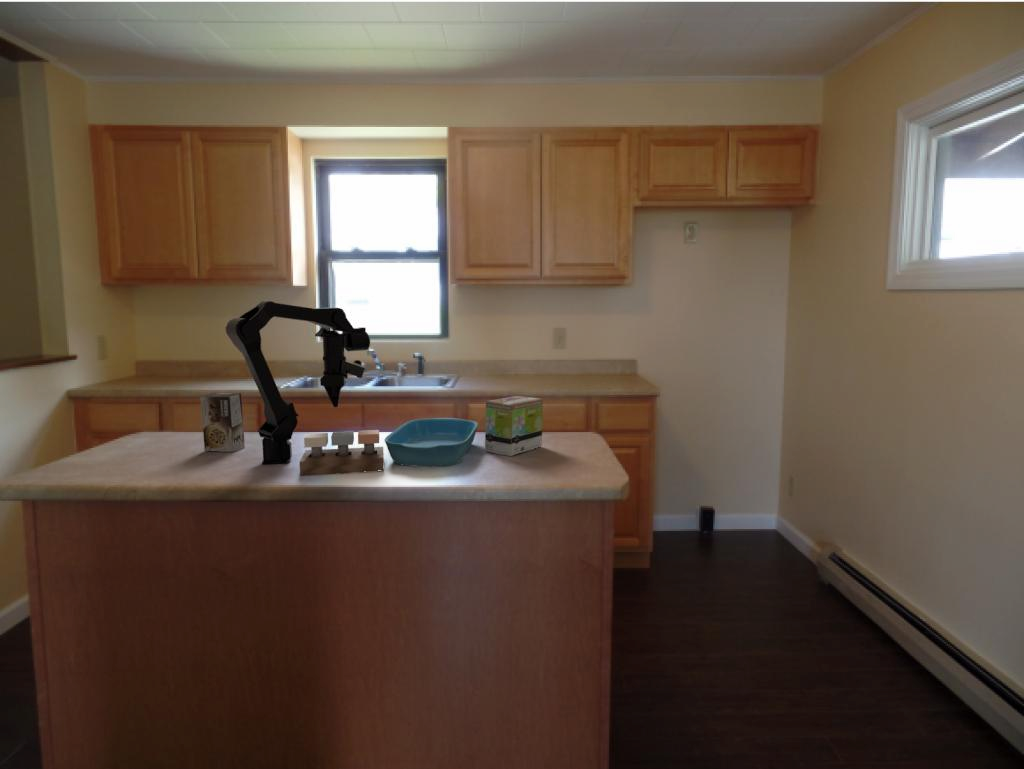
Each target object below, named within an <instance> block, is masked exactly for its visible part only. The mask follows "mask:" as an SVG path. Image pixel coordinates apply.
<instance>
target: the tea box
mask: <svg viewBox="0 0 1024 769" xmlns="http://www.w3.org/2000/svg"><path fill="white" fill-rule="evenodd" d="M543 409H544V399H543V398H538V397H529V396H523V395H515V396H509V397H503V398H497V399H492V400H491V399H490V400H486V401H485V428H484V429H485V430H484V433H485V434H484V435H485V436H484V438H485V439H484V450H485V452H488V453H492V454H497V455H502V456H506V455H507V456H508V457H512V456H515V455H518V454H520V453H524V452H528V451H532V450H535V448H536V449H539V448H538V447H540V448H542V447H541V446H543V445H542V444H543V421H544V420H543V416H544V415H543V412H544V411H543ZM507 456H506V457H507Z"/></svg>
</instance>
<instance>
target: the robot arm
mask: <svg viewBox="0 0 1024 769" xmlns="http://www.w3.org/2000/svg"><path fill="white" fill-rule="evenodd" d="M272 318H280V319H287V320H294V321H295V320H296V321H303V322H308V323H311V324H314V325H316V326H319V327H320V329H318V331H317V332H316V333H314V337H315V338H316V337H318V338H319V337H320V338H322V352H323V356H322V361H323V370H322V372H323V373H322V374H323V376H321V377H320V379H319V382H320V383H319V384H320V387H323V388H324V389H325V391H326V393H327V396H328V399H329V400H330V402H331V404H332V406H333V408H338V407H339V403H340V396H341V391H342V388H344V387H345V386H346V383H347V380H346V379H348V378H349V375H353V376H354V377H357V378H359V379H362V378H363V375H364V373H365V369H366V366H364V365H362V360H359V359H356V360H354V361H349V360H347V356H346V354H345V351H347V352H361V351H368V350H369V348H370V345H371V338H370V336H369V334H368V332H367V331H366V327H363V326H359V327H353V325H352V324H351V322H350V321H349V320H348V318H347V315H346V312H345V311H344V310H343V308H339V307H315V308H314V307H313V308H312V307H306V306H301V305H300V306H298V305H293V304H286V303H278V302H274V301H272V300H270V301H269V300H267V301H261V302H259V303H258V304H257V305H256V306H254V307H252V308H251V309H250V310H248V311H246V312H245V313H243V314H241V315H240V316H239V317H235V318H232V319H230V320H229V321H228V322H227V324H226V326H225V332H226V334H227V337H228V338H229V339H230V341H231V343H232V344H233V345H234V347H235V348H236V349H237V350H238V351H239V352H240V353H241V354H242V356H243V358H244V360H245V362H246V365H247V366H248V370H249V372H250V373H251V377H252V378H253V380H254V382H255V385H256V387H257V389H258V392H259V394H260V396H261V399H262V401H263V404H264V410H263V414H264V418H265V421H264V422H263V423H262V425H261V426H260V427H259V428H258V430H257V432H258V435H259V437H260V438H262V439H261V443H262V461H261V464H262V465H269V464H287V463H289V461H290V460H291V459H292V457H293V453H292V452H293V451H292V449H293V448H292V442H291V441H290V440H292V437H293V434H294V431H295V429H296V428H297V425H298V423H299V422H298V417H299V414H298V413H297V412H296V409H295V405H294V402H291V401H287V400H284V399H283V398H282V395H281V392H280V390H279V388H278V386H277V384H276V381H275V379H274V376H273V373H272V372H271V369H270V367H269V365H268V363H267V360H266V358H265V355H264V354H263V351H262V336H261V332H260V331H261V330H262V329H263V328H265V327H266V326H267V325H268V323H269V322H270V321H271V319H272ZM327 329H331V330H327ZM339 332H341V333H339Z"/></svg>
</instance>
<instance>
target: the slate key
mask: <svg viewBox="0 0 1024 769" xmlns="http://www.w3.org/2000/svg"><path fill="white" fill-rule="evenodd" d="M354 432H355V431H354V430H349V431H332V434H331V437H330V438H331V442H330V443H331V447H333V446H334V447H335V446H337V449H338V456H348V455H349V450H348V448H349V446H352V445H354V441H355V435H354V434H355V433H354Z"/></svg>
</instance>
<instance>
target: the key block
mask: <svg viewBox="0 0 1024 769" xmlns="http://www.w3.org/2000/svg"><path fill="white" fill-rule="evenodd" d="M348 450H349V455H348V456H338V448H330V449H329V448H327V449H326V448H325V449H323V448H322V457H312V451H311V449H306V450H305V451H304V453H303V454H302V456H301V459H300V460H299V476H321V475H337V474H336V473H341V474H350V473H349V472H360V473H365V472H364V471H378V470H383V471H384V469H383V463H384V446H374V452H375V454H369V455H364V447H350V448H349V447H348ZM378 472H379V471H378Z"/></svg>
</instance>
